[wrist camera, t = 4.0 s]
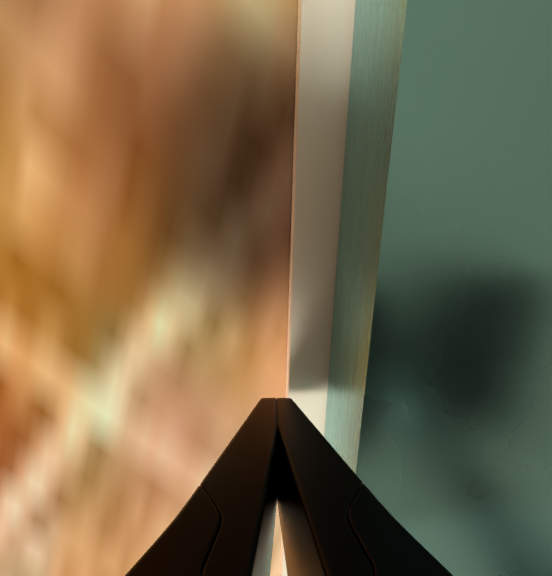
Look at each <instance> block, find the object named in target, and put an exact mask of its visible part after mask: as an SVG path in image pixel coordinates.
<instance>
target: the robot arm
mask: <svg viewBox="0 0 552 576" xmlns="http://www.w3.org/2000/svg"><path fill="white" fill-rule="evenodd" d="M277 502H278V510H279V517H280V524H281V532H282V539H283V546H284V553H285V561H286V568H287V575H288V576H453V575H452V574H451V573H450V572H449V571H448V570H447V569H446V568H445V567H444V566H443V565H442V564H441V563H440V562H439V561H438V560H437V559H436V558H435V557H434V556H432V555H431V554H430V553H429V552H428V551H427V550H426V549H425V548H424V547H423V546H422V545H421V544H420V543H419V542H418V541H417V540H416V539H415V538H414V537H413V536H412V535H411V534H410V533H409V532H408V531H407V530H406V529H405V528H404V527H403V526H402V525H401V524H400V523H399V522H398V521H397V520H396V519H395V518H394V517H393V516H392V515H391V514H390V513H389V512H388V510H387V509H386V508H385V507H384V506H383V505H382V504H381V503H380V502H379V500H378V499H377V498H376V497H375V496H374V495H373V494H372V492H371V491H370V490H369V489H368V488H367V487H366V485H365V484H362V481H361V480H360V479H359V477H358V476H357V475H356V474H355V473H354V471H353V470H352V469H351V468H350V467H349V466H348V464H347V463H346V462H345V461H344V460H343V459H342V457H341V456H340V455H339V454H338V453H337V451H336V450H335V449H334V448H333V447H332V446H331V444H330V443H329V442H328V441H327V440H326V439H325V437H324V436H323V435H322V434H321V433H320V432H319V430H318V429H317V428H316V427H315V426H314V424H313V423H312V422H311V421H310V420H309V419H308V417H307V416H306V415H305V414H304V413H303V412H302V410H301V409H300V408H299V407H298V406H297V404H296V403H295V402H294V401H293V400H292V399H291V398H277V399H276V398H262V399H261V400H260V401H259V402H258V404H257V405H256V407H255V408H254V409H253V411H252V412H251V414H250V415H249V416H248V418H247V419H246V421H245V422H244V423H243V425H242V426H241V428H240V429H239V430H238V432H237V433H236V435H235V436H234V437H233V439H232V440H231V442H230V443H229V445H228V446H227V447H226V449H225V450H224V452H223V453H222V454H221V456H220V457H219V459H218V460H217V461H216V463H215V464H214V466H213V467H212V468H211V470H210V471H209V473H208V474H207V475H206V477H205V478H204V480H203V481H202V483H201V485H200V486H199V487H198V488H197V489H196V491H195V492H194V494H193V495H192V496H191V498H190V499H189V501H188V502H187V503H186V505H185V506H184V507H183V508H182V510H181V511H180V512H179V514H178V515H177V516H176V518H175V519H174V520H173V521H172V523H171V524H170V525H169V526H168V527H167V528H166V530H165V531H164V532H163V533H162V534H161V535H160V537H159V538H158V539H157V540H156V541H155V543H154V544H153V545H152V546H151V547H150V548H149V549H148V550H147V552H146V553H145V554H144V555H143V556H142V557H141V558H140V559H139V560H138V562H137V563H136V564H135V565H134V566H133V567H132V568H131V569H130V571H129V572H128V573H127V574H126V575H125V576H270V568H271V557H272V547H273V536H274V526H275V516H276V505H277Z"/></svg>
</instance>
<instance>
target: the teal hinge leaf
mask: <svg viewBox="0 0 552 576" xmlns="http://www.w3.org/2000/svg"><path fill="white" fill-rule="evenodd" d="M324 437H325V439H326V440H327V441H328V442H329V443H330V444H331V446H332V447H333V448H334V449H335V450H336V451H337V453H338V454H339V455H340V456H341V457H342V459H343V460H344V461H345V462H346V463H347V464H348V466H349V467H350V468H351V469H352V470H353V471H354V473H355V474H356V475H357V476H358V477H359V479H360V480H361V481H362V484H365V485H366V487H367V488H368V489H369V490H370V491H371V492H372V494H373V495H374V496H375V497H376V498H377V499H378V500H379V502H380V503H381V504H382V505H383V506H384V507H385V508H386V509H387V510H388V512H389V513H390V514H391V515H392V516H393V517H394V518H395V519H396V520H397V521H398V522H399V523H400V524H401V525H402V526H403V527H404V528H405V529H406V530H407V531H408V532H409V533H410V534H411V535H412V536H413V537H414V538H415V539H416V540H417V541H418V542H419V543H420V544H421V545H422V546H423V547H424V548H425V549H426V550H427V551H428V552H429V553H430V554H431V555H432V556H434V557H435V558H436V559H437V560H438V561H439V562H440V563H441V564H442V565H443V566H444V567H445V568H446V569H447V570H448V571H449V572H450V573H451V574H452V575H453V576H552V0H356V4H355V17H354V31H353V45H352V59H351V73H350V87H349V100H348V114H347V128H346V142H345V156H344V169H343V183H342V197H341V211H340V225H339V239H338V252H337V266H336V280H335V294H334V308H333V321H332V335H331V349H330V363H329V377H328V391H327V404H326V418H325V432H324Z"/></svg>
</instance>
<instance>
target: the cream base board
mask: <svg viewBox="0 0 552 576" xmlns="http://www.w3.org/2000/svg"><path fill="white" fill-rule="evenodd" d="M355 4H356V0H298V27H297V58H296V90H295V122H294V153H293V185H292V216H291V248H290V279H289V311H288V343H287V374H286V398H291V399H292V400H293V401H294V402H295V403H296V404H297V406H298V407H299V408H300V409H301V410H302V412H303V413H304V414H305V415H306V416H307V417H308V419H309V420H310V421H311V422H312V423H313V424H314V426H315V427H316V428H317V429H318V430H319V432H320V433H321V434H322V435H323V436H324V432H325V418H326V404H327V391H328V377H329V363H330V349H331V335H332V321H333V308H334V294H335V280H336V266H337V252H338V239H339V225H340V211H341V197H342V183H343V169H344V156H345V142H346V128H347V114H348V100H349V87H350V73H351V59H352V45H353V31H354V17H355ZM280 576H288V575H287V568H286V561H285V553H284V546H283V539H282V532H281V564H280Z"/></svg>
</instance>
